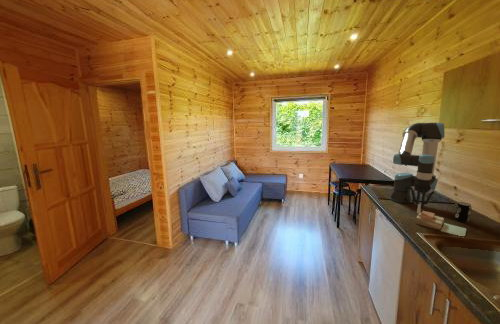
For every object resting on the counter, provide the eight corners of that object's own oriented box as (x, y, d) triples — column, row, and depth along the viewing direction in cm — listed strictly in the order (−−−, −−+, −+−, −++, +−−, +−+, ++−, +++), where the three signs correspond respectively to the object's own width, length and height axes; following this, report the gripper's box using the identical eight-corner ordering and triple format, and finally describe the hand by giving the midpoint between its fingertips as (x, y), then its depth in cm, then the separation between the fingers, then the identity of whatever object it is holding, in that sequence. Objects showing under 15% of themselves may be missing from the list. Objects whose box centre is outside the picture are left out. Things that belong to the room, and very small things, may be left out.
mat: (444, 223, 133) (444, 222, 133) (466, 229, 125) (466, 228, 125) (440, 231, 124) (440, 230, 124) (464, 237, 116) (464, 237, 116)
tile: (422, 213, 139) (422, 210, 138) (434, 216, 134) (434, 213, 134) (419, 217, 133) (419, 214, 132) (431, 220, 128) (432, 217, 128)
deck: (419, 217, 141) (420, 212, 141) (442, 223, 132) (443, 217, 132) (415, 223, 134) (416, 217, 133) (440, 230, 125) (441, 224, 124)
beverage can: (451, 218, 140) (454, 201, 137) (463, 218, 138) (466, 202, 136) (459, 222, 133) (463, 205, 131) (471, 223, 132) (475, 205, 130)
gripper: (409, 177, 134) (405, 211, 139) (436, 181, 125) (430, 217, 129) (412, 175, 139) (408, 208, 144) (438, 179, 129) (432, 214, 134)
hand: (418, 212), depth 136 cm, fingers closed
